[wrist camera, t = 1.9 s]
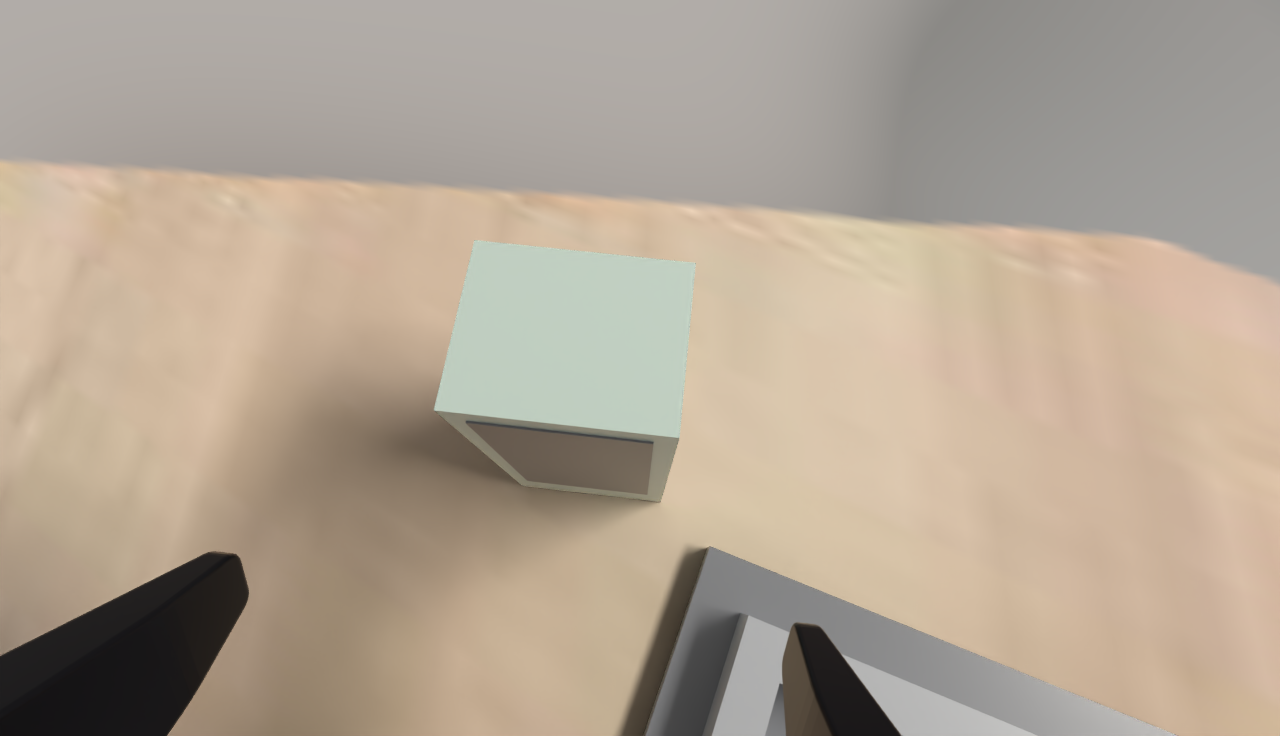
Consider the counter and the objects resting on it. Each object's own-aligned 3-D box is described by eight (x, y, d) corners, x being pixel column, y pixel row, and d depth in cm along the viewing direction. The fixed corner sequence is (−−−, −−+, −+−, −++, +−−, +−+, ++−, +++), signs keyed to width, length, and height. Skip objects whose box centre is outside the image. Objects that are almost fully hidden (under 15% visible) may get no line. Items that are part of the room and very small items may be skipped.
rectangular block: (660, 503, 21) (679, 440, 12) (522, 487, 21) (432, 412, 12) (671, 395, 23) (695, 262, 13) (541, 381, 23) (474, 240, 13)
